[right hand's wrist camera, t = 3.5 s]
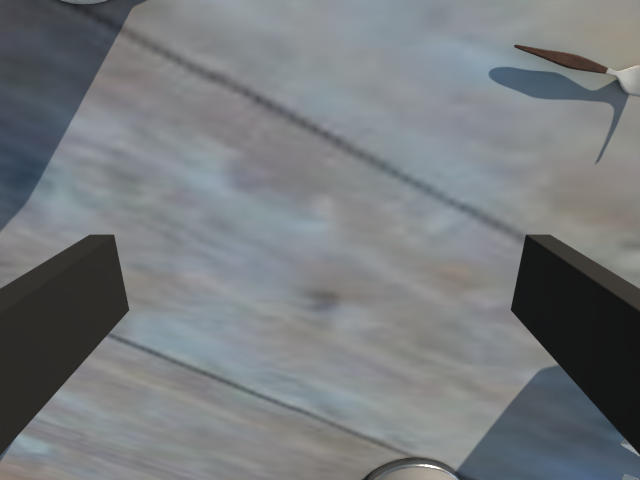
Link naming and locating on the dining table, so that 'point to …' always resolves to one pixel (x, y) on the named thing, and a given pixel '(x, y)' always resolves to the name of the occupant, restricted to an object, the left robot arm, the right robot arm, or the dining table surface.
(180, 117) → the dining table surface
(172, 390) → the dining table surface
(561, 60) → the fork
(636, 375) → the right robot arm
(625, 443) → the white plastic object
